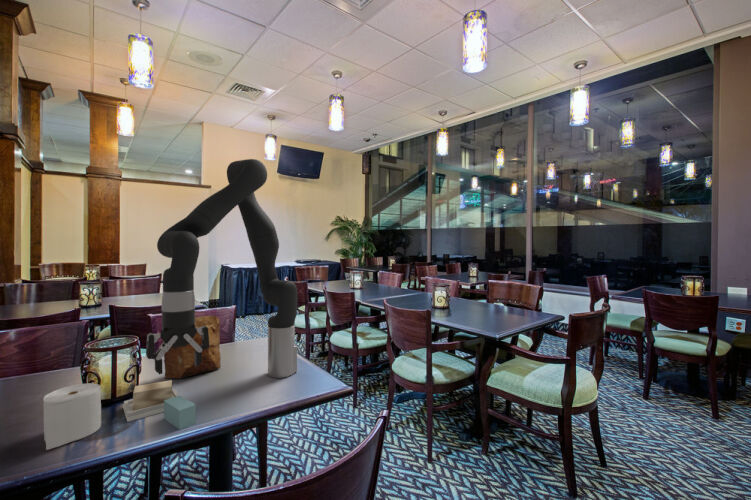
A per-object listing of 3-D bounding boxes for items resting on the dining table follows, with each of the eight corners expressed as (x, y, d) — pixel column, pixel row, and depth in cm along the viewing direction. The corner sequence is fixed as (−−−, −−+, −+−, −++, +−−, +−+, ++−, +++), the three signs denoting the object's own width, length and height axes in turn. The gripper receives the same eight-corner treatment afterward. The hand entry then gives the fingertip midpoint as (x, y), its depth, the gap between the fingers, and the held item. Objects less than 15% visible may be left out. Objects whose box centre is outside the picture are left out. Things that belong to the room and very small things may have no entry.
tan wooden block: (172, 396, 103) (171, 380, 103) (171, 403, 99) (171, 386, 98) (135, 403, 98) (134, 386, 98) (133, 411, 94) (133, 393, 94)
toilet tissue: (100, 416, 93) (99, 379, 93) (103, 435, 84) (102, 395, 84) (45, 430, 86) (44, 390, 86) (42, 453, 77) (41, 408, 77)
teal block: (179, 413, 96) (179, 395, 96) (195, 423, 90) (195, 404, 90) (164, 419, 92) (163, 400, 92) (179, 430, 87) (179, 410, 87)
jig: (175, 394, 107) (175, 388, 106) (183, 406, 99) (183, 399, 99) (123, 407, 98) (123, 400, 98) (127, 421, 90) (127, 414, 90)
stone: (219, 364, 133) (218, 312, 132) (223, 373, 124) (223, 317, 123) (162, 373, 123) (161, 317, 123) (162, 384, 114) (161, 323, 113)
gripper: (148, 313, 83) (149, 380, 83) (212, 306, 92) (212, 367, 93) (143, 308, 89) (144, 371, 89) (204, 302, 98) (204, 359, 98)
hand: (179, 369), depth 91 cm, fingers open, 8 cm apart
